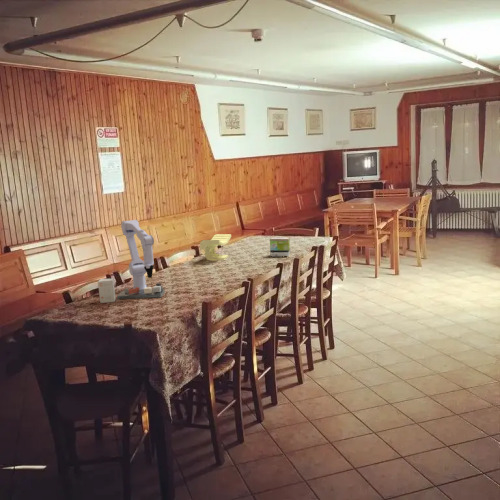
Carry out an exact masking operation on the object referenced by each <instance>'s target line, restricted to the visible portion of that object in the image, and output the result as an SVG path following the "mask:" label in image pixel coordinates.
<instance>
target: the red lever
mask: <svg viewBox="0 0 500 500" xmlns="http://www.w3.org/2000/svg"><path fill="white" fill-rule="evenodd" d="M133 288H134V287H133ZM133 288H130V289H129V288H128V287H127V288H124V290H123V291H125V295H128V294H132V293H137V292H139V287H136V288H134V289H133Z"/></svg>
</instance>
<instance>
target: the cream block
mask: <svg viewBox="0 0 500 500" xmlns="http://www.w3.org/2000/svg"><path fill="white" fill-rule="evenodd" d="M152 289H153V287H152V286H151V287H150V286H147V287H145V288H144V294H145V293H152Z"/></svg>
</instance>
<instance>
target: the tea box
mask: <svg viewBox="0 0 500 500" xmlns="http://www.w3.org/2000/svg"><path fill="white" fill-rule="evenodd" d="M290 243H291V242H290V236H274V237H273V236H272V237H270V239H269V254H270V257H271V256H272V257H282V256H288V257H289V256H290V254H291V253H290V252H291V251H290V250H291V249H290V247H291V246H290Z"/></svg>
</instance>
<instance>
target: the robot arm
mask: <svg viewBox="0 0 500 500" xmlns="http://www.w3.org/2000/svg"><path fill="white" fill-rule="evenodd" d="M120 226H121V231H122V234H123V235H124V236H125V238H126V243H127V246H128V250H129V253H130V258H131V261H130V262H129V264H128V271H129V274H130V276H132V284H133V285H132V286H133V287H132V289H134V288H136V287H139V290H144V288H145V287H148V285H147V284H146V283H147V282H146V277H147V278H148V279H151V278H153V271H154V268H155V265H154V264H155V262H154V252H153V251H154V250H153V245H154V242H155V240H154V237H153V235H152V234H151V235H149V234H148V233H147V232H146V231H145V229H142V228H141V227H140V223H139V221H138V220H137V219H132V220H131V219H130V220H123V221H121V225H120ZM135 235H136V237H137V239H138V240H140V244H141V249H142V253H143V255H142V256H143V260H142V259H141V258H140V254H139V251H138V247H137V242H136V239H135ZM145 275H147V276H145Z"/></svg>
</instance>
